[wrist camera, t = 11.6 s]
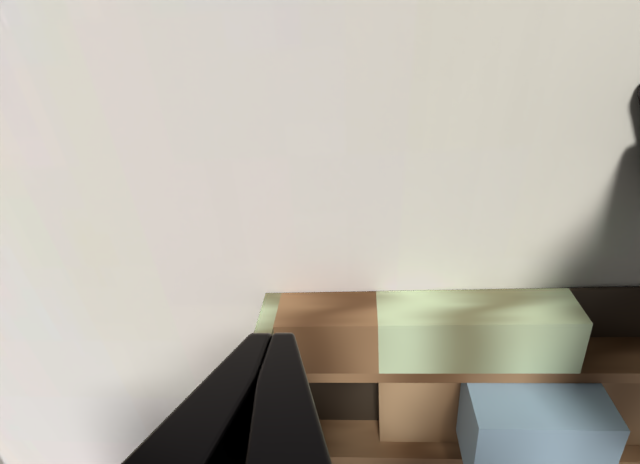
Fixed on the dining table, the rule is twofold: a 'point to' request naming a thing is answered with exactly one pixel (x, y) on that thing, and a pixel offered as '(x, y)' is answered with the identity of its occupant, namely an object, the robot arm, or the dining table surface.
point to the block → (539, 424)
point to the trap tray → (450, 359)
